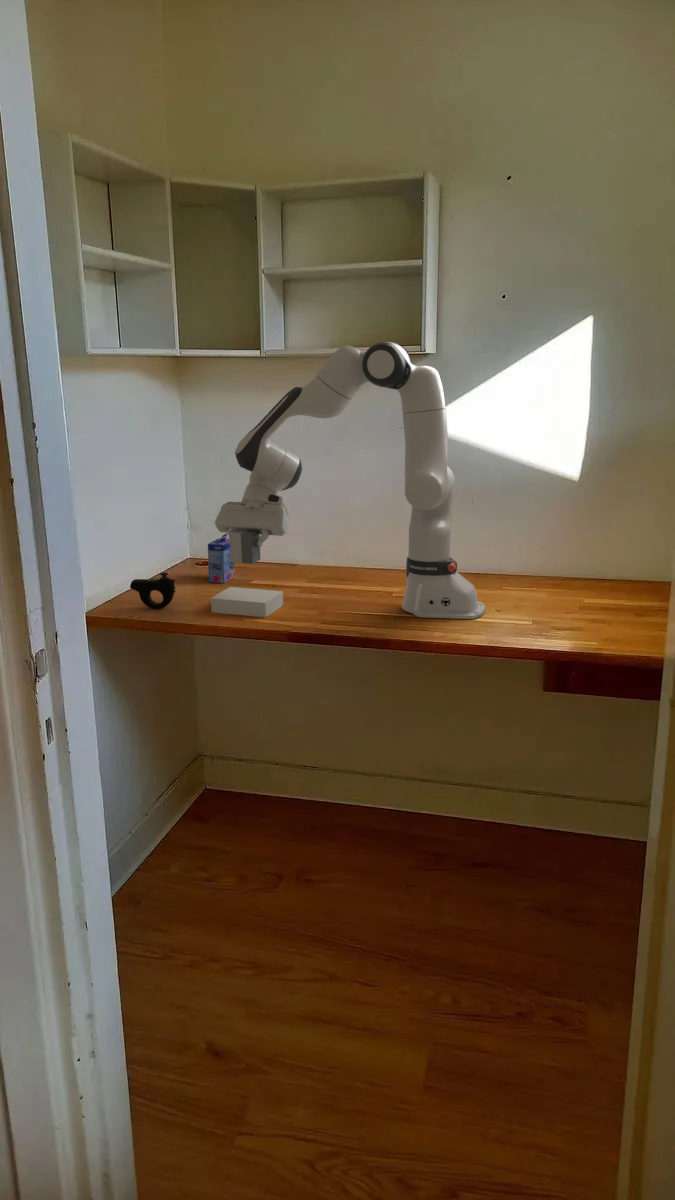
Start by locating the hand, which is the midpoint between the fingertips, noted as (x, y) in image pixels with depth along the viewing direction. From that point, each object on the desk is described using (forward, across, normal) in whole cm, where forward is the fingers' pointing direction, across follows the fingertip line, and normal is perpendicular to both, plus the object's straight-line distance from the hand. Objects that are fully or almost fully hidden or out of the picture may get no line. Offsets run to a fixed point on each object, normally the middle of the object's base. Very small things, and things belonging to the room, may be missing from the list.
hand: (244, 545), depth 226 cm
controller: (+17, -25, +8) cm, 32 cm away
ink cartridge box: (-7, -21, +32) cm, 39 cm away
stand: (+12, 0, +13) cm, 18 cm away
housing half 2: (+3, +2, +4) cm, 5 cm away
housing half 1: (+3, -2, +4) cm, 5 cm away
